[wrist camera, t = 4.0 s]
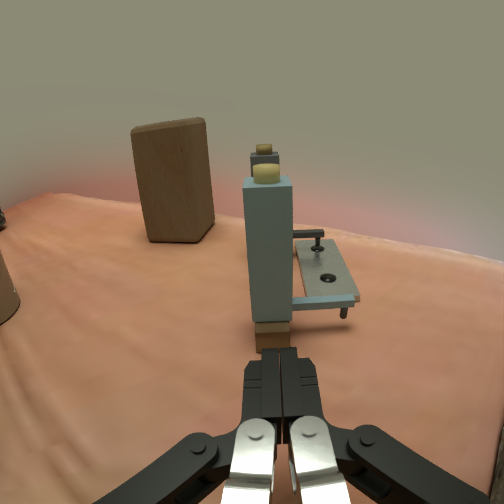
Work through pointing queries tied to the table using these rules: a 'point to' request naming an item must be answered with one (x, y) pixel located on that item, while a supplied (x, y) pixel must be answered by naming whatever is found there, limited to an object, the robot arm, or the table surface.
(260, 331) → the dark grey l-shaped piece
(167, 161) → the block
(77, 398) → the table surface
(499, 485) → the concrete block
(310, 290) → the grey flat plate
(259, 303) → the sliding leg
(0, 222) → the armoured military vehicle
